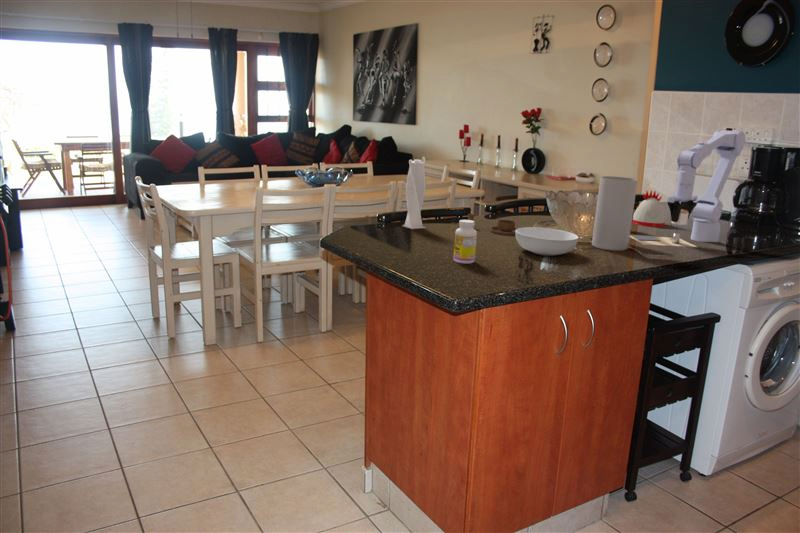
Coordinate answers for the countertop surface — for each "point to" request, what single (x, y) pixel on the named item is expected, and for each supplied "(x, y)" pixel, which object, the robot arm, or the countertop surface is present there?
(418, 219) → the skyscraper
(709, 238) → the robot arm
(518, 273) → the countertop surface
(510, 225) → the place setting
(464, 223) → the supplement bottle
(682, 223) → the brown egg in cup
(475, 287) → the countertop surface
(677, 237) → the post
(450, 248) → the countertop surface
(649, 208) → the white red spiked dome
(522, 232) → the serving bowl
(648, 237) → the pad
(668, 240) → the board
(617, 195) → the cylinder vase
